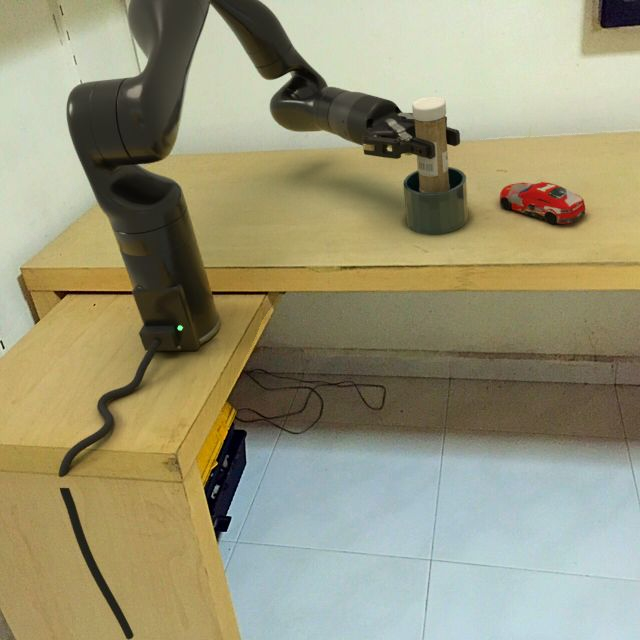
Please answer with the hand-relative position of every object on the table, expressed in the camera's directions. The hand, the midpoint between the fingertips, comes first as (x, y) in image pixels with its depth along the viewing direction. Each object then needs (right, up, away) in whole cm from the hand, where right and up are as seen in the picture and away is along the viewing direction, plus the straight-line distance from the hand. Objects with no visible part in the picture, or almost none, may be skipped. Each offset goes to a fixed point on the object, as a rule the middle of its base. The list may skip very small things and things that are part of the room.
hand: (445, 144), depth 103 cm
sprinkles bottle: (-1, -5, +7) cm, 8 cm away
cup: (0, -9, +9) cm, 13 cm away
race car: (+15, -8, +7) cm, 18 cm away
